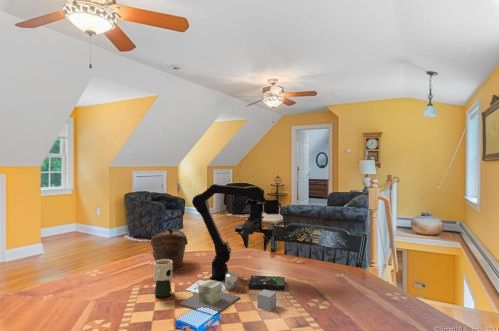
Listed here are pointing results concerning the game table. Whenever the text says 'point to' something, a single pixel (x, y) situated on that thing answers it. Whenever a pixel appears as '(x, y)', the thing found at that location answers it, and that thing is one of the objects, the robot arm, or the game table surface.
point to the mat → (217, 306)
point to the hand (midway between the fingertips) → (255, 249)
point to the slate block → (266, 300)
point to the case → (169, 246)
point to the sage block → (210, 291)
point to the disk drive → (267, 283)
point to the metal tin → (231, 281)
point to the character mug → (163, 277)
